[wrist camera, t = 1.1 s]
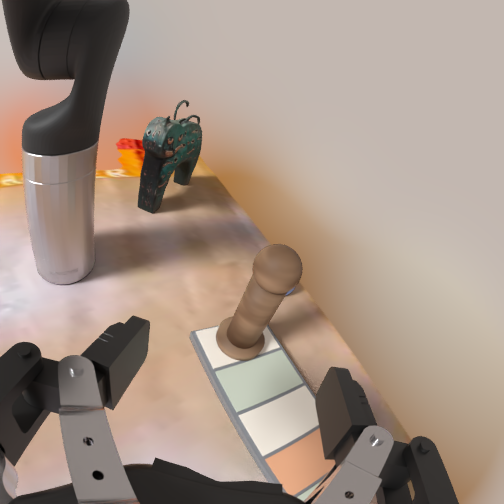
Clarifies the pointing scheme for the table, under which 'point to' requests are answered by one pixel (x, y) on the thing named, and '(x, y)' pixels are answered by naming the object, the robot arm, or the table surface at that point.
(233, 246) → the table surface
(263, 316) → the pawn
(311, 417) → the game board
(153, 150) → the ceramic cat
